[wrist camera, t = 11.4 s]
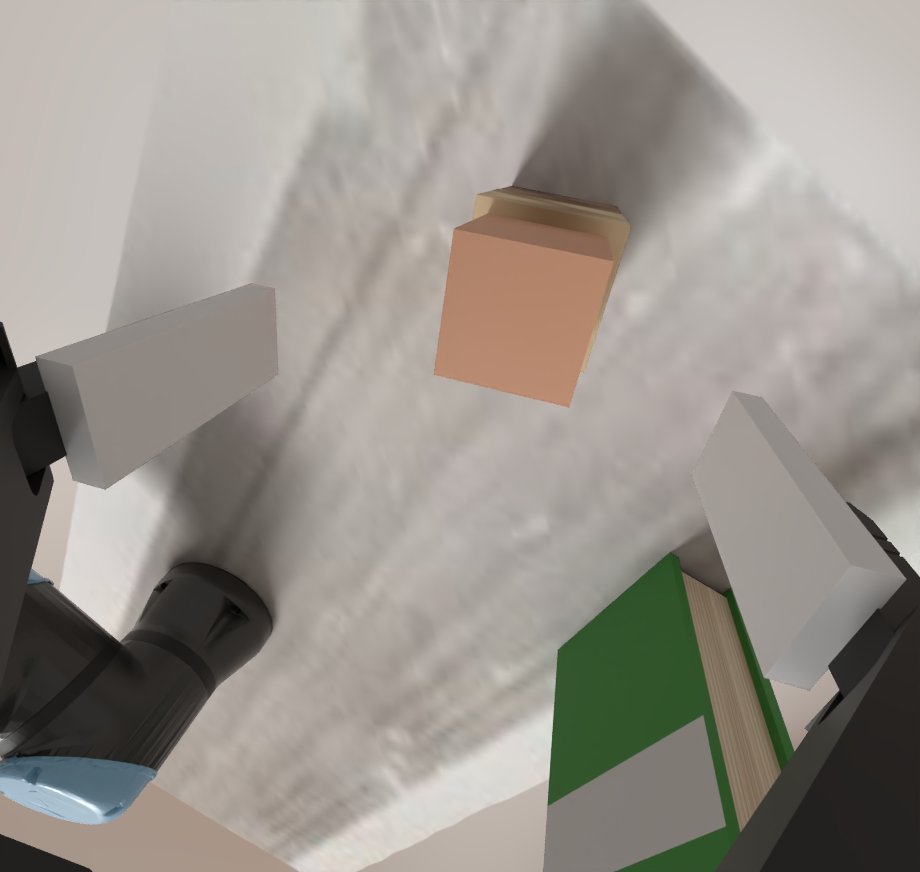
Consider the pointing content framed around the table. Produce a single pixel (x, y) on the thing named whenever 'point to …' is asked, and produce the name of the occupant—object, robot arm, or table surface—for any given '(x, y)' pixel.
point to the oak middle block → (563, 218)
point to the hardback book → (659, 732)
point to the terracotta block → (521, 306)
